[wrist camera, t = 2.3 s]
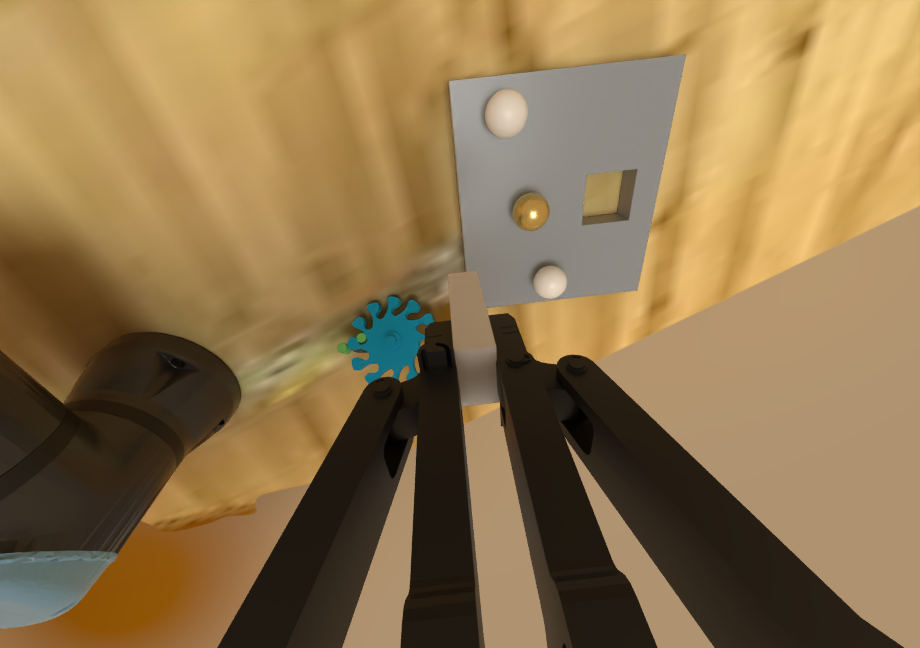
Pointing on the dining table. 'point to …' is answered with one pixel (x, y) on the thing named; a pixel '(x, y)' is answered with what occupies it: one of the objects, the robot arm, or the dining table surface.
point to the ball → (531, 212)
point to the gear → (388, 339)
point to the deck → (563, 174)
